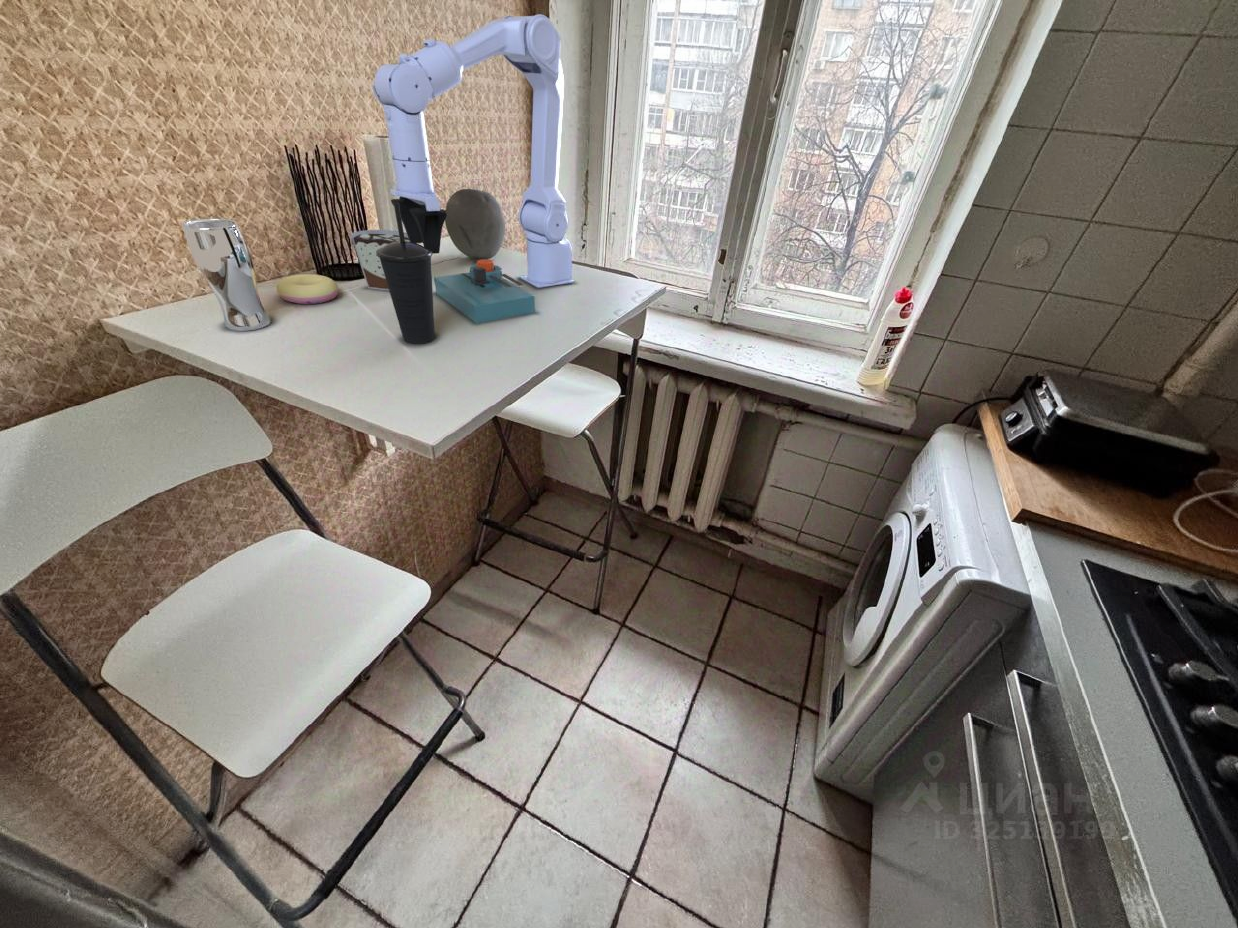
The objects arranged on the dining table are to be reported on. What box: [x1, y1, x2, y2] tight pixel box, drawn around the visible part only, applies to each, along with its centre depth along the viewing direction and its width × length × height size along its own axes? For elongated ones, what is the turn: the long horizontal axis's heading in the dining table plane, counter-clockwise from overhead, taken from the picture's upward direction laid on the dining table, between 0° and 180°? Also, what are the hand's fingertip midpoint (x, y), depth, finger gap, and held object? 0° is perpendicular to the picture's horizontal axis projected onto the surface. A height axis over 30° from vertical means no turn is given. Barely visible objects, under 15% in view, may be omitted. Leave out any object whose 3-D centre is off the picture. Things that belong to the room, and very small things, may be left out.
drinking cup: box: [376, 202, 436, 346], centre depth 74 cm, size 8×8×20 cm
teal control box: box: [433, 264, 536, 324], centre depth 94 cm, size 12×18×5 cm
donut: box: [275, 273, 339, 305], centre depth 89 cm, size 10×5×9 cm
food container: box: [349, 229, 410, 291], centre depth 96 cm, size 12×6×10 cm, turn 85°
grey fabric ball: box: [444, 188, 506, 261], centre depth 115 cm, size 14×14×15 cm
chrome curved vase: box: [180, 218, 271, 332], centre depth 74 cm, size 7×7×15 cm
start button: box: [476, 259, 495, 272], centre depth 96 cm, size 3×3×2 cm
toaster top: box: [454, 272, 524, 287], centre depth 91 cm, size 9×10×1 cm
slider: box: [471, 267, 490, 286], centre depth 87 cm, size 3×2×3 cm
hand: (424, 248), depth 87 cm, fingers open, 7 cm apart
